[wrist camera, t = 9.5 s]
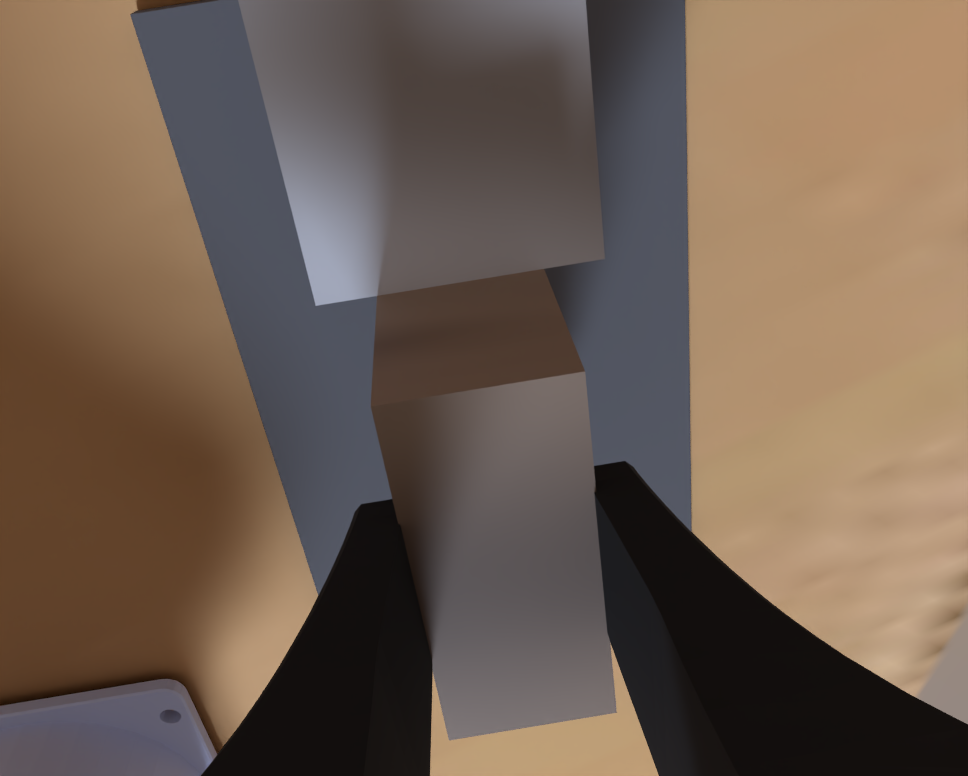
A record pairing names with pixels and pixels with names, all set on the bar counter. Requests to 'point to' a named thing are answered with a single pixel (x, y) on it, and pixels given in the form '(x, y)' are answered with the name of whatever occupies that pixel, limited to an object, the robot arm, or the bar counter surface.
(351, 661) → the robot arm
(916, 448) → the bar counter surface
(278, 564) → the bar counter surface
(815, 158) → the bar counter surface
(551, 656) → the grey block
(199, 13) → the mat
